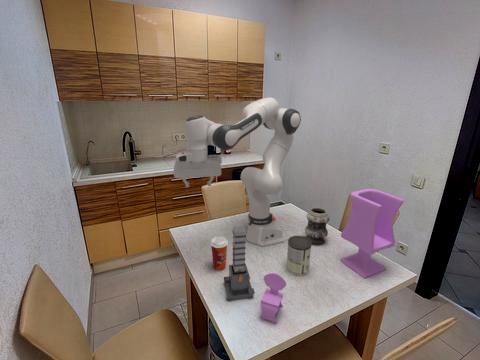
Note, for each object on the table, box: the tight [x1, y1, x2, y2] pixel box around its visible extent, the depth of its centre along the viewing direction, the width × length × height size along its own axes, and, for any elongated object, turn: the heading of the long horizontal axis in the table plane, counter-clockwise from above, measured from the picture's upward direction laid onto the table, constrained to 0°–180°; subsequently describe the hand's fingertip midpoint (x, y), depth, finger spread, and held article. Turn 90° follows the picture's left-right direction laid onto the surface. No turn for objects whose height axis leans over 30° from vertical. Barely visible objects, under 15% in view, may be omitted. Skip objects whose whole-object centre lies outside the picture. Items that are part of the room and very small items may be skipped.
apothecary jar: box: [304, 206, 330, 246], centre depth 137 cm, size 12×12×18 cm
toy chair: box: [259, 272, 287, 324], centre depth 91 cm, size 8×9×15 cm
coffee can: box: [285, 235, 313, 277], centre depth 115 cm, size 10×10×14 cm
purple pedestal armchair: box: [339, 188, 405, 279], centre depth 114 cm, size 16×16×35 cm
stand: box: [223, 262, 256, 302], centre depth 102 cm, size 11×11×10 cm
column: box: [232, 225, 247, 273], centre depth 98 cm, size 4×4×18 cm
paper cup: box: [210, 236, 229, 272], centre depth 115 cm, size 8×8×14 cm
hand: (198, 186), depth 112 cm, fingers open, 8 cm apart
